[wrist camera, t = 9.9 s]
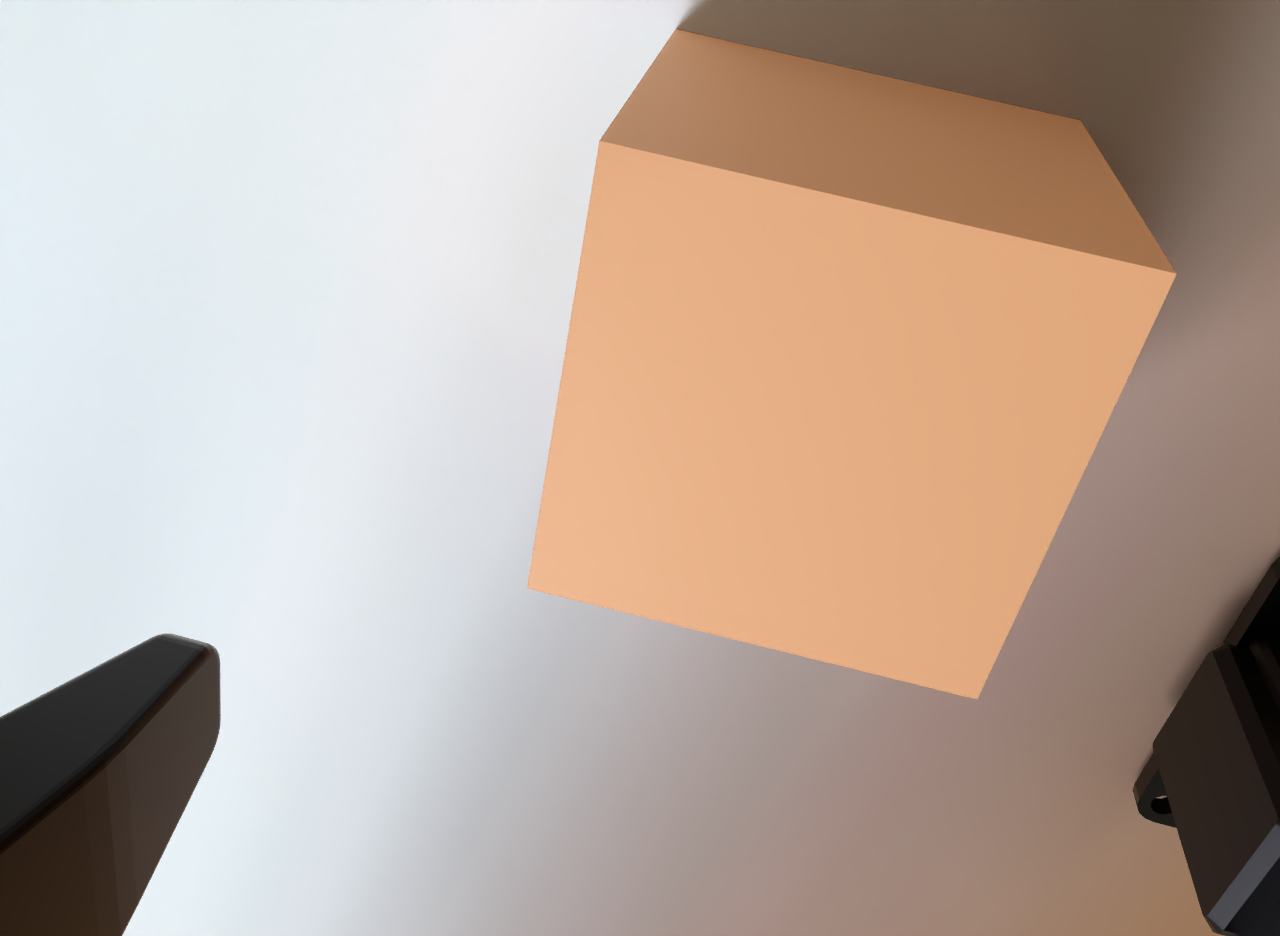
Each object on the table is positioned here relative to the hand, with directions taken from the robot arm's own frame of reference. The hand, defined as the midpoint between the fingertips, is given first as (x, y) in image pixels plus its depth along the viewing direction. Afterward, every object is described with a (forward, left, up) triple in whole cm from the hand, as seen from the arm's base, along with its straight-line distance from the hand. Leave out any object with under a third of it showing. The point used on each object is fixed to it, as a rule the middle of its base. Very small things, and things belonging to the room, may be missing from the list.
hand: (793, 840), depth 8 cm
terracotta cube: (0, 0, -12) cm, 12 cm away
